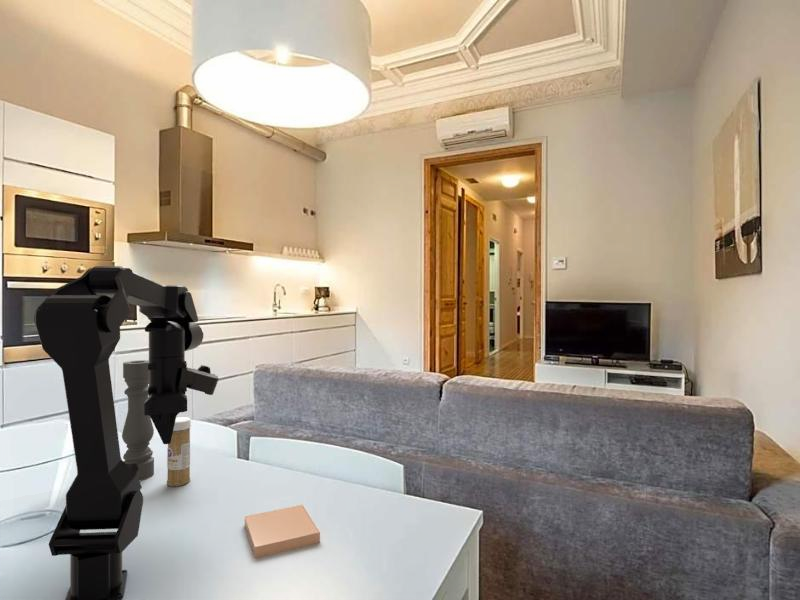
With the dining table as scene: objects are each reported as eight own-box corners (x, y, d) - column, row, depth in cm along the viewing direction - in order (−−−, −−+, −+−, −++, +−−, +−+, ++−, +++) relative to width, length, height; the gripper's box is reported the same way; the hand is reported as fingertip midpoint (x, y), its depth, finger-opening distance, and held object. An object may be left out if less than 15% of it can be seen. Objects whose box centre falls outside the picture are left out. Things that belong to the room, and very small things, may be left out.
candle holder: (117, 482, 98) (117, 364, 98) (126, 472, 104) (126, 360, 104) (150, 479, 99) (150, 363, 99) (157, 469, 105) (157, 359, 105)
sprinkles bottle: (161, 485, 96) (161, 420, 96) (179, 477, 101) (179, 415, 101) (178, 488, 95) (178, 422, 95) (195, 480, 99) (195, 417, 99)
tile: (302, 515, 84) (320, 544, 74) (244, 528, 79) (254, 560, 69) (302, 504, 84) (319, 532, 74) (244, 516, 79) (254, 547, 69)
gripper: (219, 359, 78) (220, 452, 78) (211, 348, 94) (211, 425, 94) (144, 363, 73) (144, 462, 73) (149, 351, 89) (149, 432, 89)
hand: (167, 443), depth 82 cm, fingers closed
